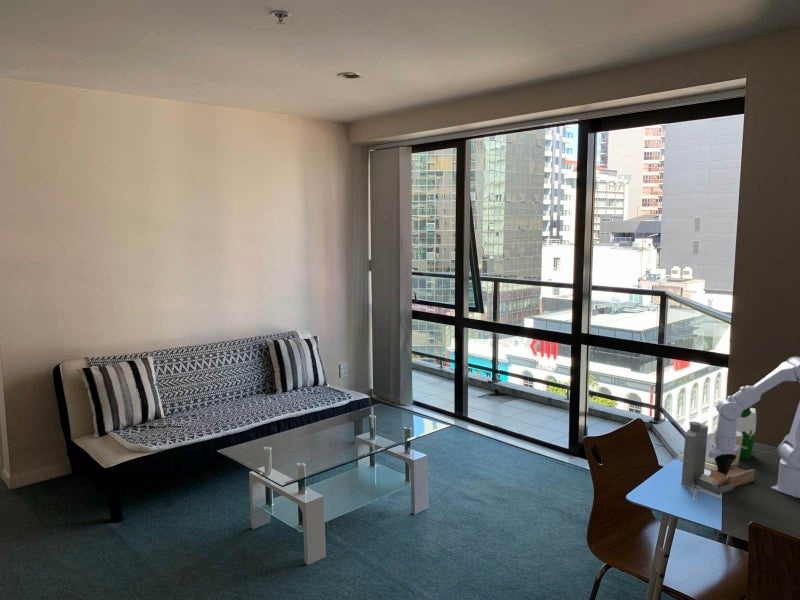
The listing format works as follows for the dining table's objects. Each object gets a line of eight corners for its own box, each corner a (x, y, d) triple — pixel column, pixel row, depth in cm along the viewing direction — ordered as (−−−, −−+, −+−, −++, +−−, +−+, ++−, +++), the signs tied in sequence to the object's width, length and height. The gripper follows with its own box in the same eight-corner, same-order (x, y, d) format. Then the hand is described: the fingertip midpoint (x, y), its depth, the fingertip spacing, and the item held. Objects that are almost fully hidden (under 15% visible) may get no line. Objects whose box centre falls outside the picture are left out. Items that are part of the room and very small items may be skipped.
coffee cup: (733, 459, 221) (736, 428, 220) (745, 469, 212) (748, 437, 211) (707, 458, 222) (709, 427, 221) (718, 467, 213) (720, 435, 212)
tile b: (713, 478, 193) (711, 483, 192) (719, 483, 194) (716, 488, 194) (702, 473, 196) (699, 478, 196) (707, 479, 198) (705, 484, 198)
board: (754, 480, 202) (755, 470, 202) (730, 488, 195) (731, 477, 195) (733, 473, 208) (734, 462, 208) (709, 480, 201) (710, 470, 201)
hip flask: (690, 488, 195) (694, 429, 192) (677, 484, 198) (681, 426, 195) (705, 474, 206) (709, 419, 204) (692, 471, 209) (697, 416, 207)
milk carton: (725, 455, 225) (730, 404, 223) (727, 448, 233) (731, 399, 231) (752, 460, 221) (757, 408, 218) (753, 453, 228) (758, 403, 226)
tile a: (726, 478, 197) (724, 474, 196) (720, 487, 195) (718, 483, 195) (715, 473, 200) (713, 470, 199) (709, 482, 199) (707, 479, 198)
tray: (733, 489, 195) (733, 483, 194) (718, 494, 191) (719, 488, 190) (709, 480, 201) (710, 474, 201) (695, 485, 197) (696, 479, 197)
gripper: (727, 428, 204) (723, 466, 206) (701, 435, 197) (698, 474, 198) (747, 435, 198) (744, 474, 200) (722, 442, 191) (718, 482, 192)
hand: (722, 474), depth 199 cm, fingers closed
